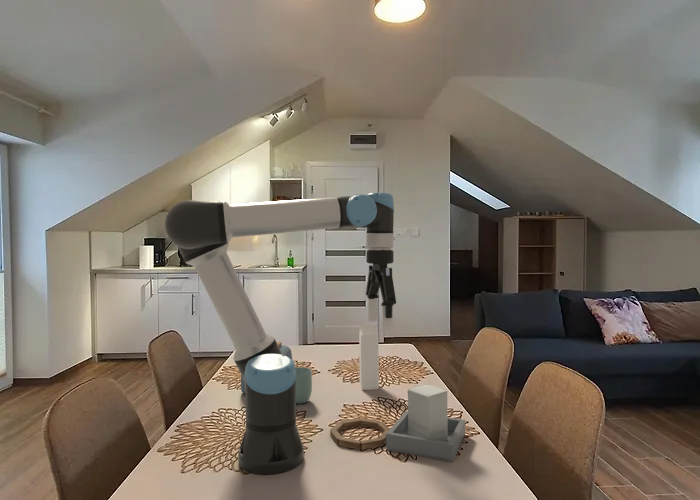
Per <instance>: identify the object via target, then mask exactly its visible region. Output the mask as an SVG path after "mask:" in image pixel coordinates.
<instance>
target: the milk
mask: <svg viewBox="0 0 700 500" xmlns="http://www.w3.org/2000/svg"><path fill="white" fill-rule="evenodd" d="M378 330H379V329H378V324H377V323H361V324H360V325H359V331H358V336H359V338H358V341H359V344H358V345H359V346H358V349H359V351H358V352H359V353H358V355H359V357H358V358H359V386H360V389H361V391H367V390H368V391H372V390H373V391H374V390H379V387H380V386H379V385H380V384H379V381H380V379H379V378H380V377H379V375H380V374H379V370H380V367H379V361H380V360H379V357H380V356H379V351H380V350H379V331H378Z"/></svg>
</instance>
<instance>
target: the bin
mask: <svg viewBox="0 0 700 500" xmlns="http://www.w3.org/2000/svg"><path fill="white" fill-rule="evenodd" d="M465 436H466V419H461V418H455V417H449V416H448V440H446V441H439V440H433V439H427V438H421V437H416V436H410V435H408V410H405V411H404V412H403V413H402V415H400V416H399V418H398V419H397V420H396V421H395V423H394V424H393V425H392V426H391V428H390V430H389V431H388V432H387V433H386V443H385V444H386V445H385V446H386V448H385V449H386V451H391V452H397V453H402V454H406V455H407V454H408V455H411V456H418V457H422V458H427V459H434V460H439V461H444V462H450V463H454V461H455V458H456V457H457V454H458V451H459V450H460V448H461V445H462V442H463V440H464V438H465Z"/></svg>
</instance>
